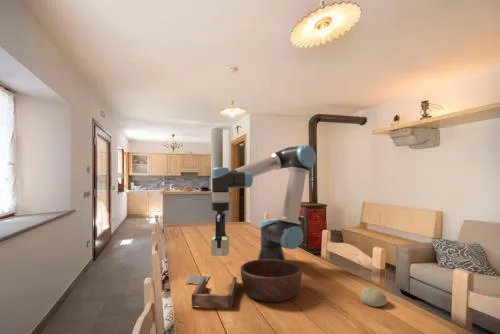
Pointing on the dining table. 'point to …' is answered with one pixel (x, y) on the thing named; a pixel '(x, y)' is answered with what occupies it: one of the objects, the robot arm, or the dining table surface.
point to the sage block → (225, 246)
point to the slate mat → (196, 279)
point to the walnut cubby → (213, 296)
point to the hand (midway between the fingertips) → (220, 253)
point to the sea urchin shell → (373, 297)
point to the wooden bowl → (271, 279)
